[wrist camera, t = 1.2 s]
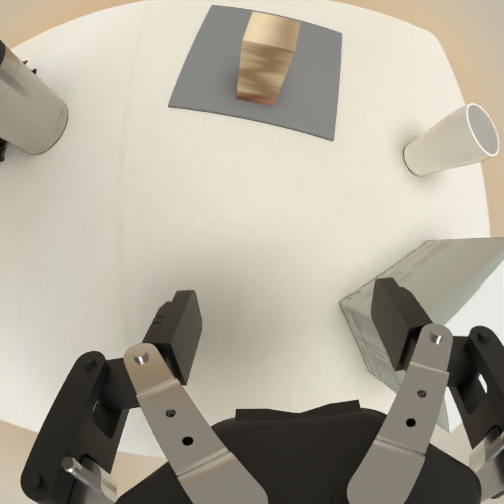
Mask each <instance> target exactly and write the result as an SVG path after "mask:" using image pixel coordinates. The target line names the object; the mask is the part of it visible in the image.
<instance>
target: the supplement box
mask: <svg viewBox="0 0 504 504" xmlns="http://www.w3.org/2000/svg"><path fill="white" fill-rule="evenodd" d="M387 277H393V278H394V280H395V281H396V282H397V284H398V285H399V287H404V288H406V289H407V290H409V291H410V292H412V294H413V295H414V296H415V298H416V300H417V301H418V302H419V303H420V306H422V307H423V309H424V310H425V312H426V313H427V315H428V316H429V317H430V319H431V320H432V322H433V323H435V324H441V325H443V326H445V327H447V328H448V329H449V330H450V331H451V333H452V335H453V336H468V335H469V333H470V330H471V329H472V328H473V327H475V326H485V327H487V328H489V329H491V330H492V331H493V332H494V333H495V334H496V336H497V337H498V338H499V340H500V341H501V343H502V344H503V346H504V237H495V238H470V239H448V240H429V241H426V243H425V244H423V245H422V246H421V247H419V248H418V249H417V250H415V251H414V252H412V253H411V254H410V255H408V256H407V257H406V258H404V259H403V260H401V261H400V262H399V263H397V264H396V265H394V266H393V267H391V268H390V269H389V270H387V271H386V272H384V273H383V274H381V275H380V276H378V277H377V278H387ZM377 278H375V279H374V280H373V281H371V282H370V283H368V284H367V285H365V286H363V287H362V288H360V289H359V290H357V291H356V292H354V293H353V294H351V295H350V296H348V297H346V298H345V299H343V300H341V301H340V305H341V307H342V309H343V312H344V314H345V316H346V318H347V321H348V323H349V325H350V328H351V330H352V332H353V335H354V337H355V339H356V341H357V344H358V346H359V348H360V351H361V353H362V355H363V358H364V360H365V362H366V365H367V367H368V370H369V372H370V373H371V374H372V375H374V376H375V377H376V378H377V379H379V380H380V381H381V382H383V383H384V384H385V385H386V386H388V387H389V388H390V389H392V390H393V391H394V392H395V393H398V391H399V389H400V386H401V384H402V382H403V379H404V377H405V374H406V372H405V370H401V371H396V372H395V370H394V368H393V366H392V363H391V361H390V359H389V356H388V354H387V352H386V349H385V347H384V345H383V343H382V341H381V338H380V336H379V334H378V332H377V330H376V327H375V325H374V323H373V321H372V318H371V304H372V297H373V290H374V284H375V280H376V279H377ZM479 380H480V382H481V384H482V386H483V388H484V390H485V392H486V393H487V385H486V383H485V381H484V379H483V377H482V375H481V374H480V376H479ZM461 422H462V419H461V417H460V414H459V412H458V409H457V407H456V404H455V402H454V399H453V397H452V394H451V392H450V390H449V387H446V390H445V394H444V398H443V402H442V405H441V409H440V412H439V415H438V418H437V422H436V424H437V425H439V426H440V427H442V428H443V429H444V430H446V431H447V432H449V433H451V432H452V431H453V430H454V429H455V428H456V427H457V426H458V425H459V424H460V423H461Z"/></svg>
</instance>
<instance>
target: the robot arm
mask: <svg viewBox="0 0 504 504" xmlns="http://www.w3.org/2000/svg"><path fill="white" fill-rule="evenodd" d="M67 117H68V110H67V107H66V105H65V104H64V102H63V101H62V100H61V99H59V98H58V97H57V96H56V95H55V94H54V93H53V92H52V91H51V90H50V89H49V88H48V87H47V86H46V85H45V84H44V83H43V82H42V81H41V80H40V79H39V78H38V77H37V76H36V75H35V74H34V73H33V72H32V71H31V70H30V69H29V68H28V67H27V66H26V65H25V64H24V63H23V62H22V61H21V60H20V59H19V58H18V57H17V56H15V55H14V54H13V53H12V52H11V51H10V50H9V49H8V48H7V47H6V46H5V44H4V43H3V42H2V41H1V40H0V138H2V139H4V140H5V141H7V142H9V143H11V144H13V145H15V146H17V147H19V148H21V149H23V150H24V151H26V152H28V153H31V154H40V153H42V152H45V151H46V150H48V149H49V148H50V147H51V146H52V145H53V144H54V143H55V142H56V141H57V140H58V139H59V137H60V135H61V134H62V132H63V130H64V128H65V125H66V122H67ZM371 318H372V321H373V323H374V325H375V327H376V330H377V332H378V334H379V336H380V338H381V341H382V343H383V345H384V347H385V349H386V352H387V354H388V356H389V359H390V361H391V363H392V366H393V368H394V370H395V372H396V371H401V370H405V372H406V374H405V377H404V379H403V382H402V384H401V386H400V389H399V391H398V393H397V395H396V398H395V400H394V402H393V404H392V406H391V409H390V411H389V413H388V415H386V414H384V413H382V412H379V411H376V410H372V409H367V408H360V404H359V400H353V401H346V402H339V403H332V404H327V405H324V406H321V407H318V408H315V409H312V410H309V411H306V412H302V413H291V412H284V411H278V410H272V409H236V414H235V418H230V419H227V420H223V421H221V422H219V423H216V424H214V425H213V426H211V427H210V426H209V424H208V423H207V422H206V420H205V419H204V418H203V416H202V415H201V413H200V412H199V410H198V409H197V408H196V406H195V405H194V403H193V402H192V400H191V399H190V397H189V396H188V394H187V393H186V391H185V390H184V388H183V387H182V385H187V382H188V378H189V374H190V371H191V367H192V363H193V360H194V356H195V353H196V349H197V346H198V342H199V339H200V335H201V331H202V318H201V314H200V310H199V305H198V301H197V297H196V293H195V291H194V290H182V291H177V292H176V294H175V296H174V298H173V300H172V302H166V303H165V304H164V305H163V306H162V307H160V308H159V310H158V312H157V314H156V317H155V318H154V320H153V322H152V324H151V326H150V328H149V329H148V331H147V333H146V335H145V337H144V339H143V341H142V343H141V344H137V345H134V346H132V347H131V348H130V349H128V350H127V351H126V353H125V355H124V358H119V359H112V360H106V359H105V357H104V355H103V354H102V353H100V352H98V351H91V352H87V353H85V354H83V355H81V356H80V357H79V358H78V359H77V361H76V362H75V364H74V366H73V367H72V369H71V371H70V373H69V375H68V376H67V378H66V380H65V382H64V384H63V386H62V388H61V389H60V391H59V393H58V395H57V397H56V399H55V401H54V403H53V405H52V407H51V409H50V411H49V413H48V415H47V417H46V419H45V421H44V423H43V425H42V428H41V430H40V432H39V434H38V436H37V438H36V441H35V443H34V445H33V448H32V450H31V452H30V455H29V457H28V460H27V462H26V465H25V467H24V470H23V472H22V475H21V487H22V490H23V492H24V493H25V494H26V496H27V497H29V498H30V499H32V500H33V501H35V502H37V503H39V504H480V503H481V502H483V501H485V500H487V499H489V498H492V499H496V498H499V497H500V496H502V495H504V346H503V344H502V343H501V341H500V340H499V338H498V337H497V336H496V334H495V333H494V332H493V331H492V330H491V329H489V328H487V327H485V326H475V327H473V328H472V329H471V330H470V333H469V335H468V336H453V335H452V333H451V331H450V330H449V329H448V328H447V327H445V326H443V325H441V324H435V323H433V322H432V320H431V319H430V317H429V316H428V315H427V313H426V312H425V310H424V309H423V307H422V306H420V303H419V302H418V301H417V300H416V298H415V296H414V295H413V294H412V292H410V291H409V290H407V289H406V288H404V287H399V285H398V284H397V282H396V281H395V280H394V278H393V277H387V278H377V279H376V280H375V284H374V290H373V297H372V304H371ZM480 374H481V375H482V377H483V379H484V381H485V383H486V385H487V393H486V392H485V390H484V388H483V386H482V384H481V382H480V380H479V376H480ZM446 387H449V390H450V392H451V394H452V397H453V399H454V402H455V404H456V407H457V409H458V412H459V414H460V417H461V419H462V422H463V425H464V427H465V430H466V433H467V436H468V439H469V441H470V444H471V447H472V452H471V454H470V458H469V465H468V466H466V465H465V464H463V463H461V462H460V461H458V460H456V459H454V458H453V457H451V456H450V455H448V454H446V453H445V452H443V451H442V450H440V449H438V448H437V447H435V446H434V445H432V444H431V443H429V442H430V439H431V436H432V433H433V430H434V428H435V425H436V422H437V418H438V415H439V412H440V409H441V405H442V402H443V398H444V394H445V390H446ZM96 402H97V403H96ZM95 404H96V406H95ZM94 407H95V408H94ZM137 407H141V408H142V411H143V413H144V415H145V417H146V419H147V421H148V423H149V425H150V427H151V429H152V431H153V433H154V435H155V437H156V439H157V441H158V443H159V445H160V447H161V449H162V451H163V452H164V454H165V456H166V458H167V460H168V462H166V463H165V464H164V465H163V466H161V467H160V468H159V469H157V470H156V471H155V472H153V473H152V474H151V475H149V476H148V477H147V478H145V479H144V480H142V481H141V482H140V483H138V484H137V485H136V486H134V487H133V488H131V489H130V490H128V491H127V492H126V493H124V494H123V495H122V496H120V497H119V498H118V499H117V485H116V482H115V480H114V478H113V477H112V476H111V475H110V474H111V470H112V466H113V463H114V459H115V455H116V452H117V448H118V445H119V442H120V438H121V435H122V432H123V428H124V425H125V422H126V419H127V416H128V412H129V409H130V408H137ZM93 409H94V410H93Z"/></svg>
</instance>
